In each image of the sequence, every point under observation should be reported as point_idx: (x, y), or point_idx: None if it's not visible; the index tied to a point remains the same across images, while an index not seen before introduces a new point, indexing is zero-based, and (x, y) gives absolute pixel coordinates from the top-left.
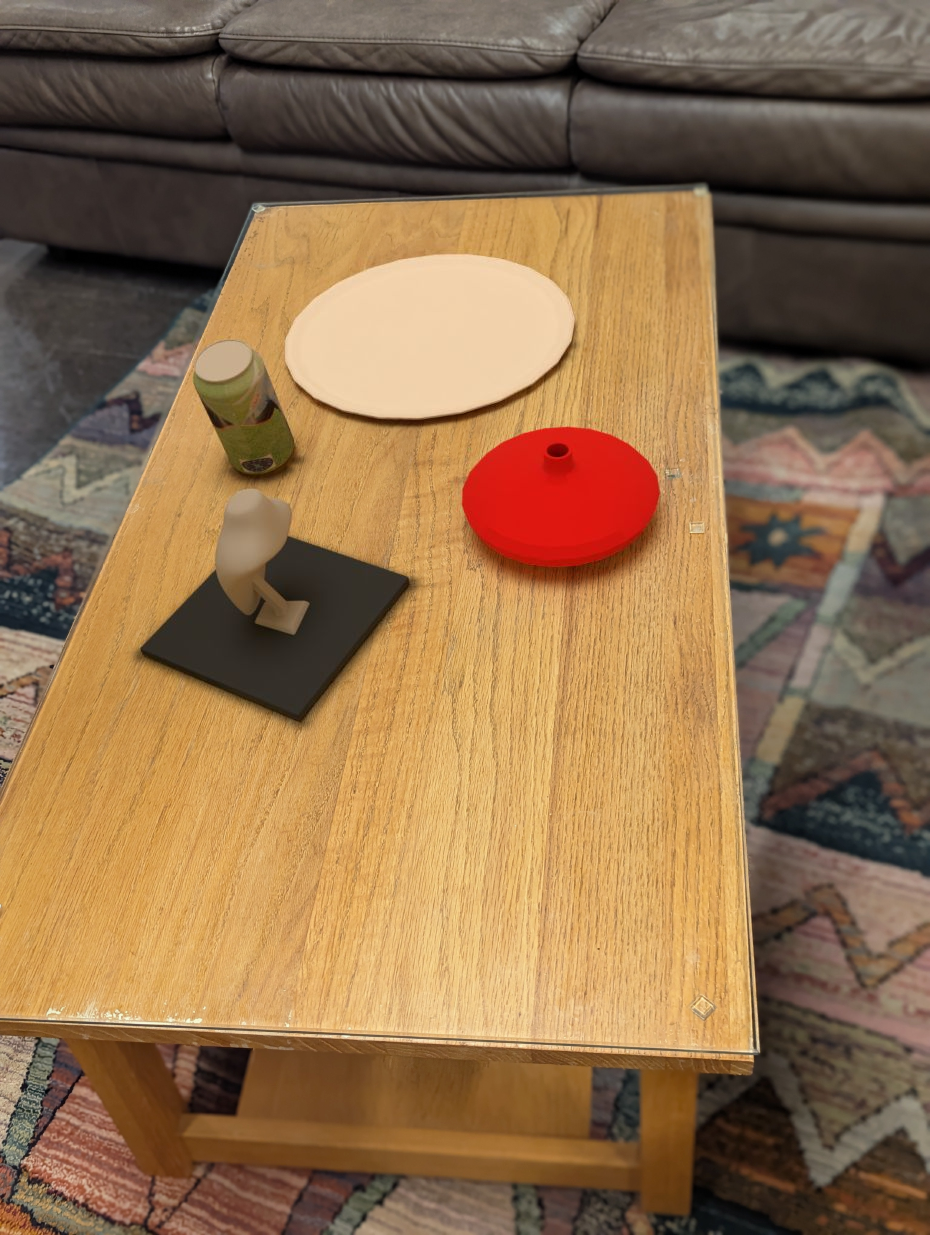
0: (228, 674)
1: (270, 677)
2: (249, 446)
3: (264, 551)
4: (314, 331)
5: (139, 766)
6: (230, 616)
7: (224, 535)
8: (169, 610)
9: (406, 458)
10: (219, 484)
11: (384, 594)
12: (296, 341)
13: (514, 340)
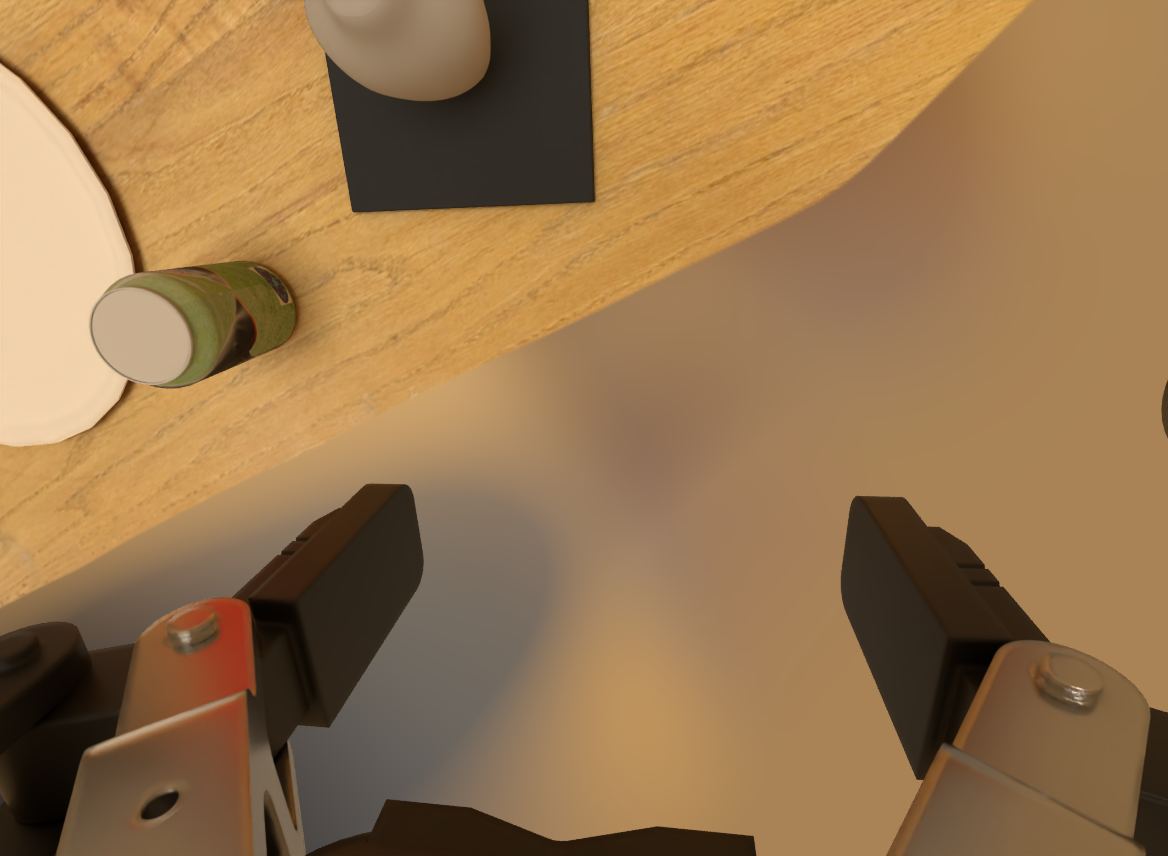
0: (571, 42)
1: None
2: (255, 284)
3: None
4: (57, 406)
5: (740, 58)
6: (492, 121)
7: (424, 5)
8: (521, 226)
9: (139, 110)
10: (327, 328)
11: None
12: (84, 411)
13: None
